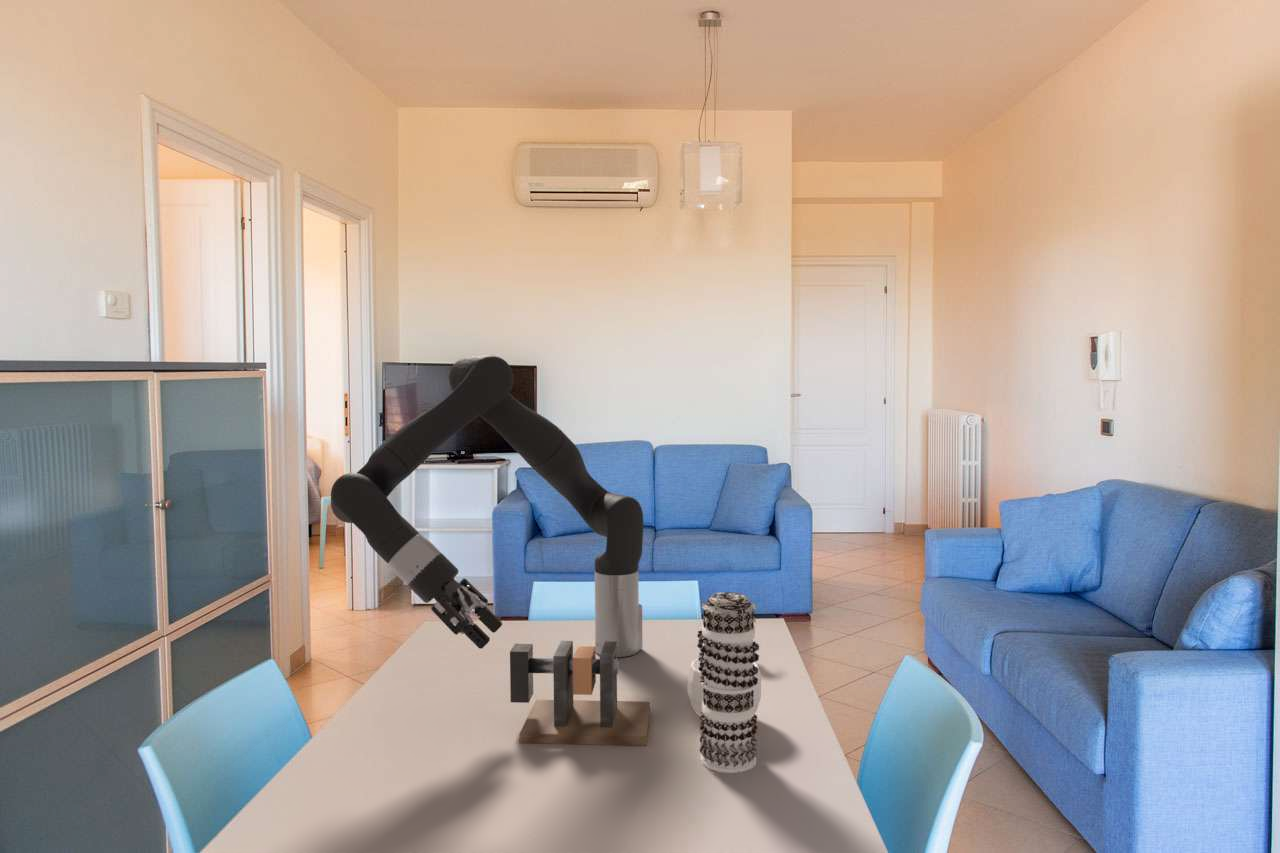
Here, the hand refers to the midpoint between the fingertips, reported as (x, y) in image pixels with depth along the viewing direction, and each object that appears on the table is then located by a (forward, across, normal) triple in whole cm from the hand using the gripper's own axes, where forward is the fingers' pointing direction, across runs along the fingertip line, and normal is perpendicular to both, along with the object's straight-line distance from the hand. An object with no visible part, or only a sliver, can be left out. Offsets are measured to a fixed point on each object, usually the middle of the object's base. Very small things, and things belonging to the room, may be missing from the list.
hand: (492, 636), depth 138 cm
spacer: (+17, 0, -5) cm, 18 cm away
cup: (+38, +3, -16) cm, 41 cm away
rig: (+22, 0, -1) cm, 22 cm away
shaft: (+16, 0, -1) cm, 16 cm away
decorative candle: (+38, -11, -17) cm, 43 cm away
